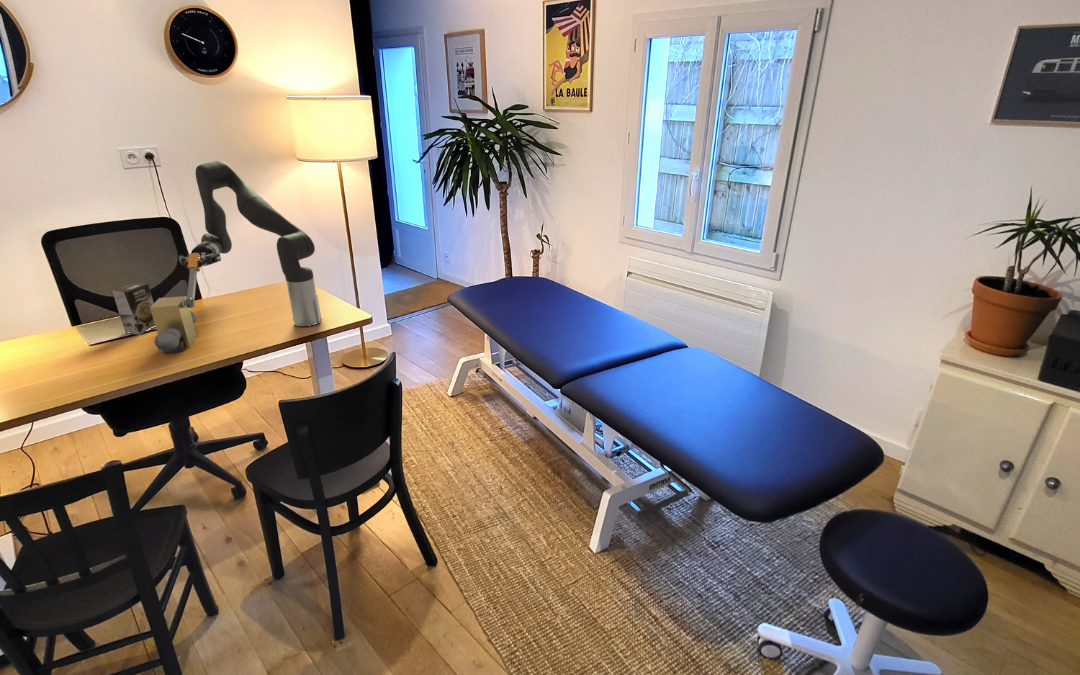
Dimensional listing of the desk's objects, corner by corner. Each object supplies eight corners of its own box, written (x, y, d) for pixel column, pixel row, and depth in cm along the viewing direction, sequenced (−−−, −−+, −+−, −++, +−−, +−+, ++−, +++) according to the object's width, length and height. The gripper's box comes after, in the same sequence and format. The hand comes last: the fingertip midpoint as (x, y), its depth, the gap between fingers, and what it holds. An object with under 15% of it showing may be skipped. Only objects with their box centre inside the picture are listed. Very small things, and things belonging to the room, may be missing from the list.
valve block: (204, 329, 199) (193, 288, 192) (187, 354, 180) (174, 310, 174) (176, 331, 197) (164, 290, 190) (156, 357, 178) (142, 313, 172)
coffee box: (140, 335, 194) (126, 291, 187) (124, 333, 195) (110, 290, 188) (161, 325, 202) (148, 283, 195) (146, 323, 203) (133, 281, 196)
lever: (196, 309, 185) (201, 258, 195) (193, 303, 182) (198, 252, 193) (186, 309, 184) (191, 258, 195) (183, 304, 182) (188, 253, 192)
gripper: (182, 244, 202) (166, 255, 187) (224, 242, 206) (213, 253, 191) (186, 264, 205) (172, 276, 190) (228, 261, 209) (217, 274, 194)
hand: (192, 264), depth 190 cm, fingers closed on lever, 3 cm apart
